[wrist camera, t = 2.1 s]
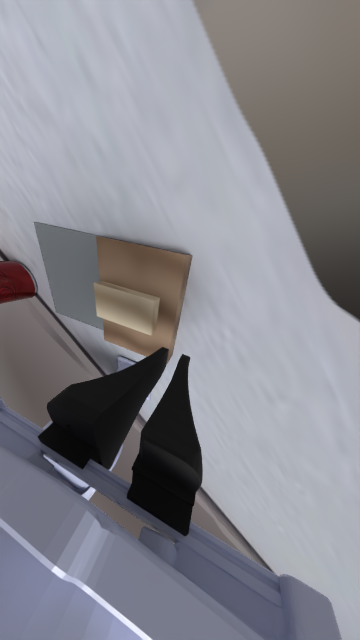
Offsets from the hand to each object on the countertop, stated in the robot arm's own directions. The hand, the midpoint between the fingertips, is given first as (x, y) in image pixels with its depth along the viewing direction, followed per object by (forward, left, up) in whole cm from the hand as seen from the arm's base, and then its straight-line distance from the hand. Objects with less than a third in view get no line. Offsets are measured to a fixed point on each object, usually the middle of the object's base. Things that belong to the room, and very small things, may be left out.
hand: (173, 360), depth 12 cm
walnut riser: (0, +9, -9) cm, 13 cm away
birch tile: (0, +10, -7) cm, 12 cm away
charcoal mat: (0, +22, -9) cm, 24 cm away
